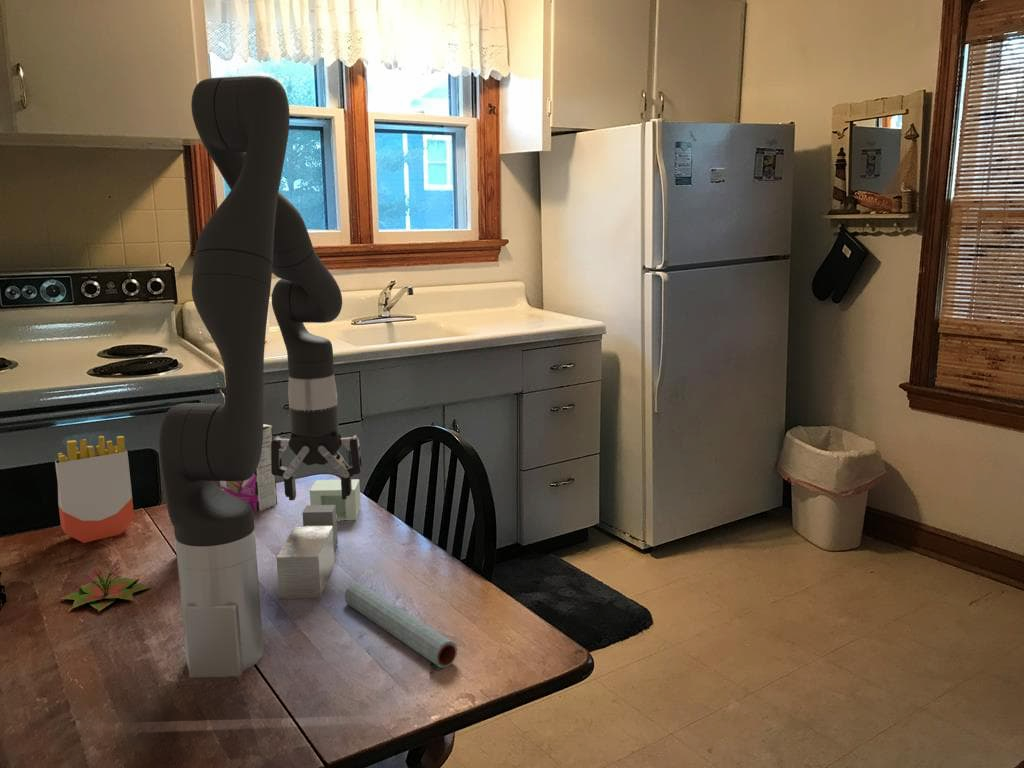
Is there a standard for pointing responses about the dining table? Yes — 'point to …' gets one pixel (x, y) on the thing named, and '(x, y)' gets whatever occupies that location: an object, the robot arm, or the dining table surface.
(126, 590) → the lily flower
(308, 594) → the cream rectangular block
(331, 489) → the socket block
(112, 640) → the dining table surface
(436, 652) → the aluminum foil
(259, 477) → the candy bar box
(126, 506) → the french fries container
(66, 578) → the dining table surface
